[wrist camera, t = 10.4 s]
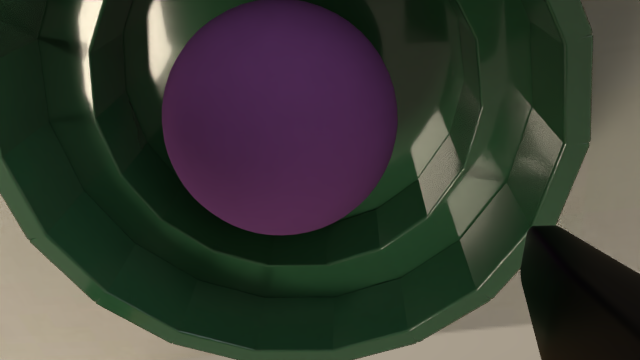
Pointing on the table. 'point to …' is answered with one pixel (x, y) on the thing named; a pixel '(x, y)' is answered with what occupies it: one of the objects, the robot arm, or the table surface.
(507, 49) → the bowl
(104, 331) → the table surface
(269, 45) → the ball
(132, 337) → the table surface
